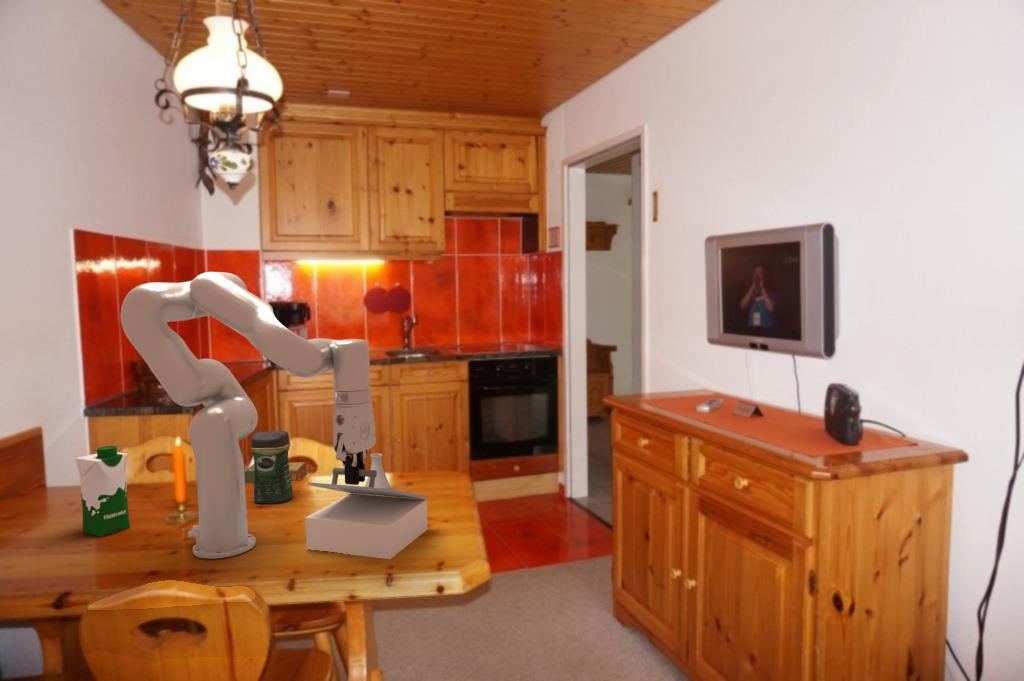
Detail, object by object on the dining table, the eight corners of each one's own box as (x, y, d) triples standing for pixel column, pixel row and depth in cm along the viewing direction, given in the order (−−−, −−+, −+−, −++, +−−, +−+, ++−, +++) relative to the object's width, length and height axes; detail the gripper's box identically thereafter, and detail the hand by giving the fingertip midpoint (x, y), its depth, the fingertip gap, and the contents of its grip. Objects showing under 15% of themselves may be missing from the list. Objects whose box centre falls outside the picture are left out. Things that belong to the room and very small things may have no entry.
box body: (306, 549, 144) (305, 517, 144) (351, 521, 161) (350, 493, 161) (390, 559, 138) (388, 526, 138) (427, 529, 155) (426, 499, 155)
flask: (359, 490, 188) (358, 454, 187) (382, 484, 192) (380, 450, 192) (373, 495, 182) (371, 459, 182) (395, 490, 187) (394, 454, 186)
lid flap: (307, 485, 145) (311, 465, 146) (350, 493, 161) (353, 475, 162) (390, 491, 138) (393, 471, 140) (426, 499, 155) (429, 480, 156)
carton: (298, 483, 197) (297, 468, 197) (243, 484, 197) (243, 470, 197) (307, 475, 206) (306, 461, 205) (254, 476, 206) (253, 462, 205)
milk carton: (100, 539, 153) (94, 452, 152) (75, 533, 157) (69, 449, 156) (136, 526, 161) (131, 444, 160) (112, 521, 165) (107, 441, 164)
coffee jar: (296, 495, 184) (293, 428, 183) (285, 504, 176) (282, 434, 175) (262, 495, 184) (258, 428, 183) (249, 504, 177) (245, 434, 175)
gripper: (347, 404, 134) (349, 494, 135) (386, 392, 149) (388, 474, 150) (315, 402, 137) (318, 491, 138) (357, 391, 151) (359, 472, 153)
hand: (355, 482), depth 144 cm, fingers closed
